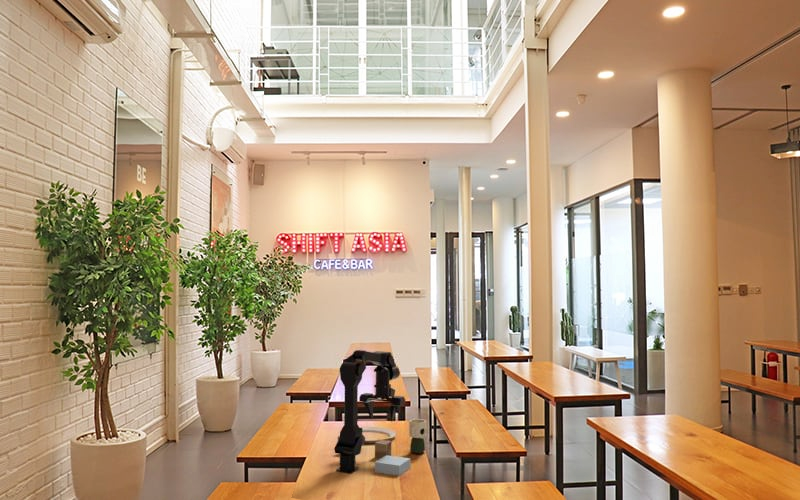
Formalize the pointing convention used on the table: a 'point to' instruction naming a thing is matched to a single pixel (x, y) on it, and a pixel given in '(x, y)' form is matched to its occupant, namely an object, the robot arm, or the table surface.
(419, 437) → the character mug
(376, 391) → the robot arm
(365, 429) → the plate
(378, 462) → the slate block
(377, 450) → the walnut block
